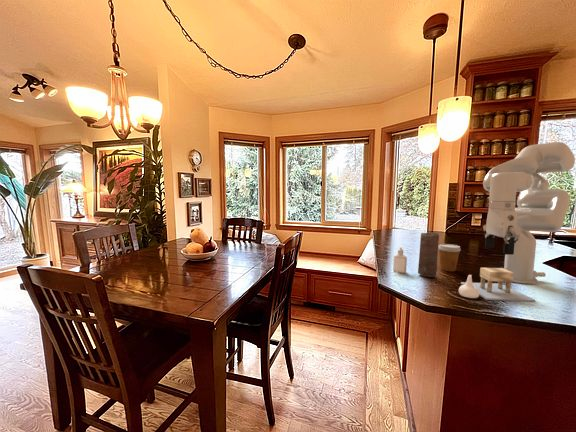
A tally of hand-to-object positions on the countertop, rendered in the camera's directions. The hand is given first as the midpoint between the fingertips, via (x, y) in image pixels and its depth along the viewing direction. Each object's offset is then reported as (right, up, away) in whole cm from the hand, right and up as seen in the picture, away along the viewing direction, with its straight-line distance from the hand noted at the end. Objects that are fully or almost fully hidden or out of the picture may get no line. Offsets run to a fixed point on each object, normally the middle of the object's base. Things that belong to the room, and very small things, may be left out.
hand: (498, 250), depth 96 cm
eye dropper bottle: (-26, -14, +26) cm, 39 cm away
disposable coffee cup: (-1, -13, +29) cm, 32 cm away
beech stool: (0, -15, +1) cm, 15 cm away
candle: (-17, -14, +19) cm, 29 cm away
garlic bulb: (-13, -17, -2) cm, 21 cm away
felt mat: (-1, -16, +1) cm, 16 cm away
